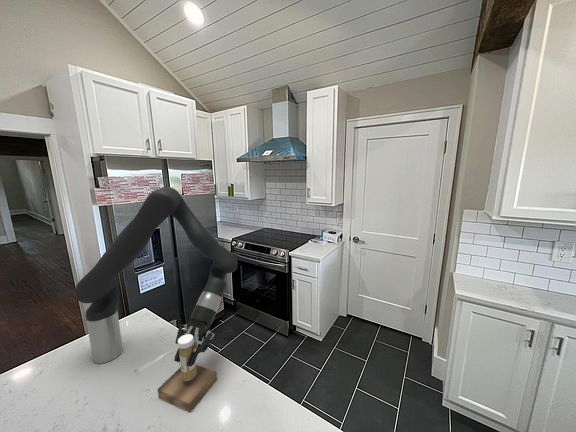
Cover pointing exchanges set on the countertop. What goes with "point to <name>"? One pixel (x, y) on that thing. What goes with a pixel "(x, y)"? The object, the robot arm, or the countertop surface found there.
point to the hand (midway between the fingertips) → (182, 363)
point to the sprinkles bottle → (186, 356)
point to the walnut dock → (187, 388)
